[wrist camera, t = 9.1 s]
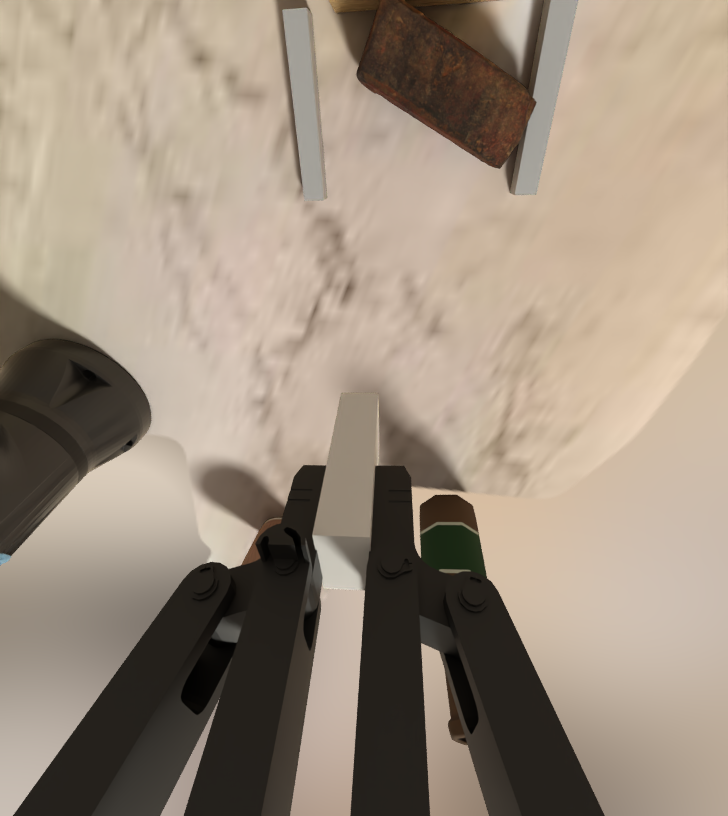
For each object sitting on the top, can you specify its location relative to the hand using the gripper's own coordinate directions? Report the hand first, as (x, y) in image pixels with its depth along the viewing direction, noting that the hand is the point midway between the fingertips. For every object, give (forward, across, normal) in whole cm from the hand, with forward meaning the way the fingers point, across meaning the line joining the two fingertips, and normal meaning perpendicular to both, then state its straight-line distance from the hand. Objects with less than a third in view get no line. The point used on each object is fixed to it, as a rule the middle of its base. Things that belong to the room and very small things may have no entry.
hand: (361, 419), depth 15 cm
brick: (+21, +5, +12) cm, 24 cm away
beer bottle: (+21, +9, -32) cm, 39 cm away
